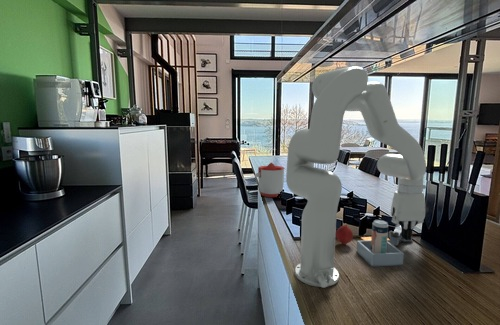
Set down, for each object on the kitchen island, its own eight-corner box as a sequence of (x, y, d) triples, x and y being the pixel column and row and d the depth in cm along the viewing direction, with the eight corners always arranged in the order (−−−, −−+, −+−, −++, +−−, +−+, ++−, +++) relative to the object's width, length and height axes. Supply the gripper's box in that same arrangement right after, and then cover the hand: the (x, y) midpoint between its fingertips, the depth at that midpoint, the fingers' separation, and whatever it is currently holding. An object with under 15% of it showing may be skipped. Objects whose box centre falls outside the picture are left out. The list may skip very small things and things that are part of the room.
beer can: (372, 251, 97) (374, 218, 95) (387, 255, 94) (390, 221, 92) (368, 257, 93) (370, 222, 91) (383, 261, 90) (386, 225, 88)
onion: (341, 248, 100) (342, 227, 99) (332, 242, 106) (333, 221, 104) (355, 247, 102) (356, 225, 100) (346, 240, 107) (347, 220, 106)
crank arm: (396, 230, 111) (397, 220, 111) (406, 233, 109) (407, 222, 109) (387, 244, 100) (388, 232, 99) (398, 246, 97) (399, 235, 97)
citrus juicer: (252, 192, 177) (253, 161, 174) (279, 191, 180) (280, 160, 177) (258, 199, 161) (258, 165, 158) (287, 198, 164) (288, 164, 161)
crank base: (416, 242, 106) (417, 238, 105) (368, 244, 104) (368, 240, 103) (403, 233, 114) (403, 229, 113) (358, 235, 112) (358, 231, 111)
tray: (402, 265, 89) (403, 253, 89) (372, 266, 88) (372, 254, 87) (384, 250, 99) (385, 239, 99) (356, 251, 98) (357, 240, 97)
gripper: (424, 185, 102) (420, 233, 105) (383, 186, 102) (380, 234, 105) (438, 190, 94) (433, 242, 97) (393, 192, 94) (390, 243, 97)
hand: (406, 238), depth 101 cm, fingers closed
